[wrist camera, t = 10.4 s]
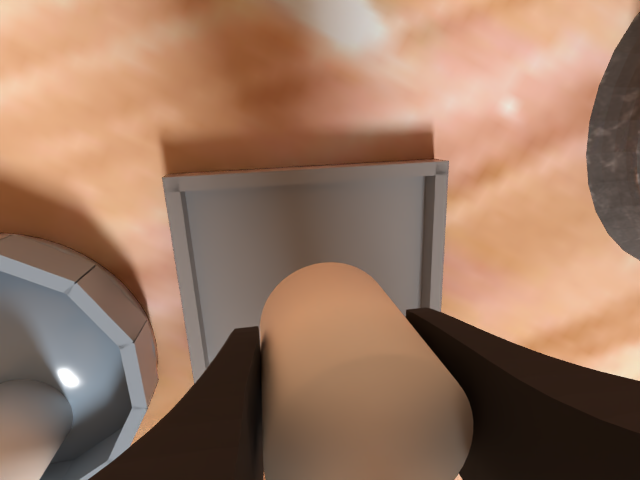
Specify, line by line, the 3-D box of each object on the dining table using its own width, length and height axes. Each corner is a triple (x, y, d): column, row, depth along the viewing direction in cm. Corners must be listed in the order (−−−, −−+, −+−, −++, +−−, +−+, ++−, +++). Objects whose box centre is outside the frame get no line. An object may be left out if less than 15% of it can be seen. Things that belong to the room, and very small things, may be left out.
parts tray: (423, 420, 23) (434, 438, 21) (211, 454, 21) (208, 476, 19) (434, 158, 18) (448, 161, 17) (169, 173, 17) (162, 177, 15)
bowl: (174, 445, 20) (163, 488, 18) (-87, 485, 18) (-140, 540, 16) (134, 221, 17) (113, 237, 14) (-193, 245, 15) (-281, 268, 13)
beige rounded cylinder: (388, 372, 12) (465, 511, 8) (265, 389, 12) (271, 550, 7) (390, 256, 11) (481, 340, 7) (254, 268, 11) (254, 369, 6)
